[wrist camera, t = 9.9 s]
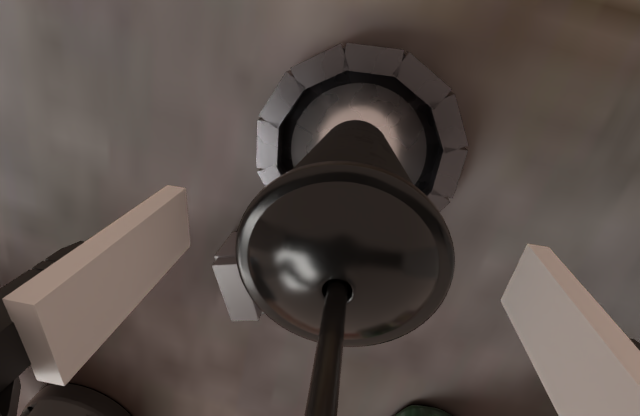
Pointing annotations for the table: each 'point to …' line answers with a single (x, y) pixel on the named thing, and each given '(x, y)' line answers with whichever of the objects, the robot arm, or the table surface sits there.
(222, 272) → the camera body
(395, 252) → the drinking cup
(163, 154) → the table surface
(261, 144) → the plate
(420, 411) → the coffee jar
